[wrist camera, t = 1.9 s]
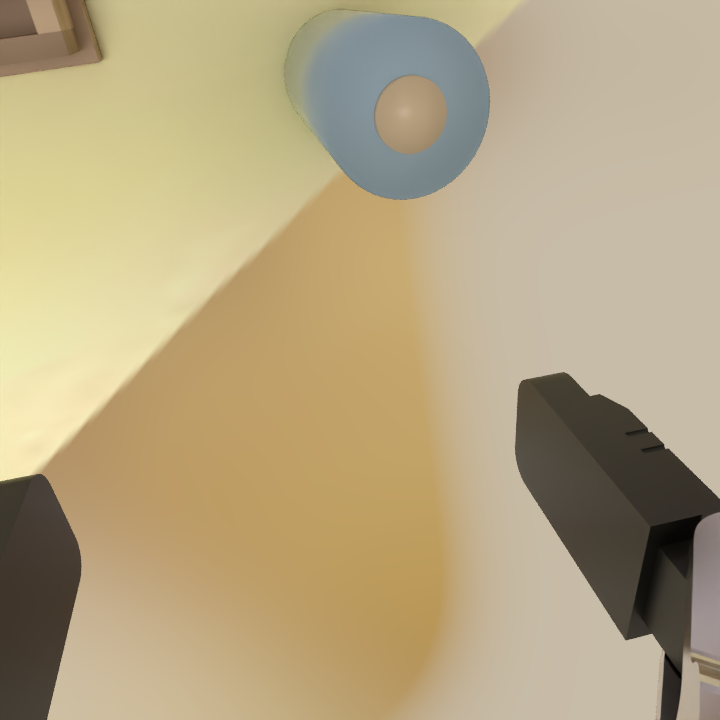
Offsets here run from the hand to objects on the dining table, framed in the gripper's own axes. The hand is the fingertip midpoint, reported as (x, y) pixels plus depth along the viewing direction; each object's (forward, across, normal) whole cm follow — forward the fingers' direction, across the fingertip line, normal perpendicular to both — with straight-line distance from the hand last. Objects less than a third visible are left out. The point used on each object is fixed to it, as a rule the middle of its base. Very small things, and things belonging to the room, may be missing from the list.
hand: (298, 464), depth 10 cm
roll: (+22, -5, -4) cm, 23 cm away
